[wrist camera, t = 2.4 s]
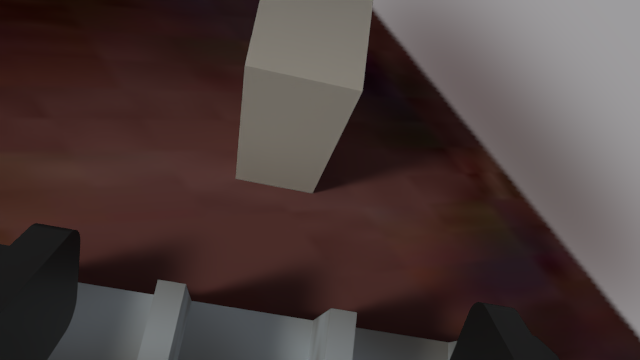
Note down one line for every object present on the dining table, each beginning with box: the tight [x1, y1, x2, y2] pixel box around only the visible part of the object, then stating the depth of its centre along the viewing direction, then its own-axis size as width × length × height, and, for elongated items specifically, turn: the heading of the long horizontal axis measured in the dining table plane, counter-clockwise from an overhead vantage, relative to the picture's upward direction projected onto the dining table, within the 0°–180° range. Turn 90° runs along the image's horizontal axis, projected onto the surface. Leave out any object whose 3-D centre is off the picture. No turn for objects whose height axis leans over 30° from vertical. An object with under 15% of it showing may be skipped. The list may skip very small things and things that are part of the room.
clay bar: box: [236, 0, 373, 193], centre depth 22 cm, size 5×4×10 cm
